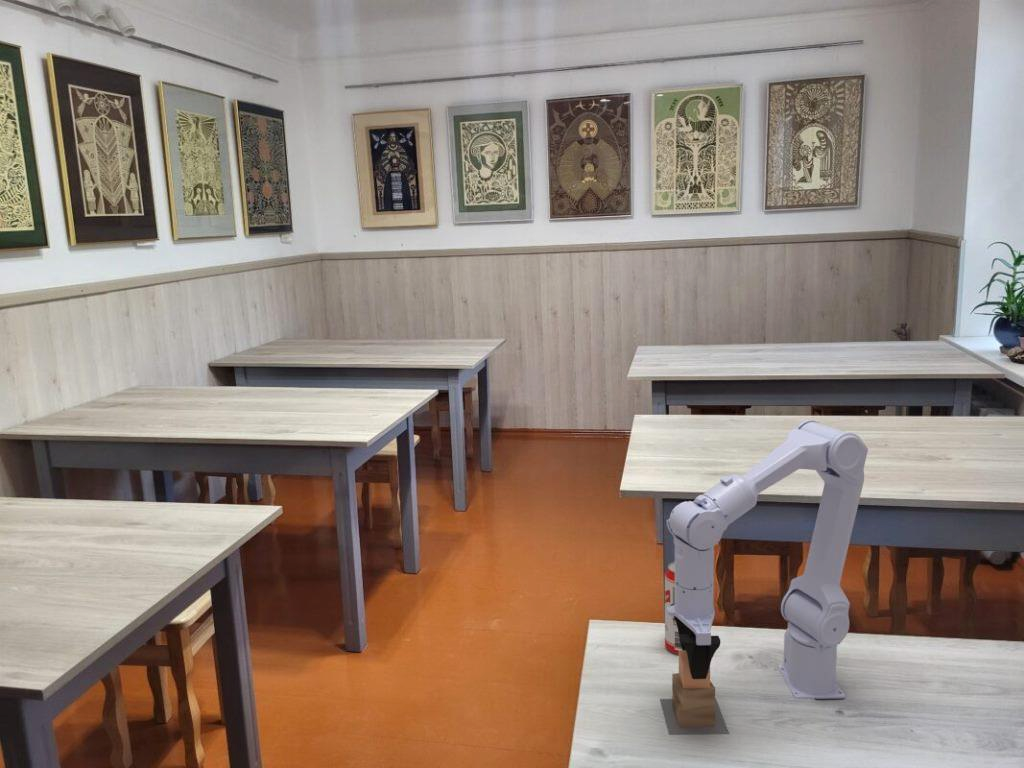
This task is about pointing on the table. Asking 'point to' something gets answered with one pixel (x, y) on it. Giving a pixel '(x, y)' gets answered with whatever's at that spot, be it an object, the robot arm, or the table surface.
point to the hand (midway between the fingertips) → (693, 663)
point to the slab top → (692, 694)
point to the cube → (686, 675)
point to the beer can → (670, 624)
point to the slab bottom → (693, 715)
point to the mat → (676, 730)
